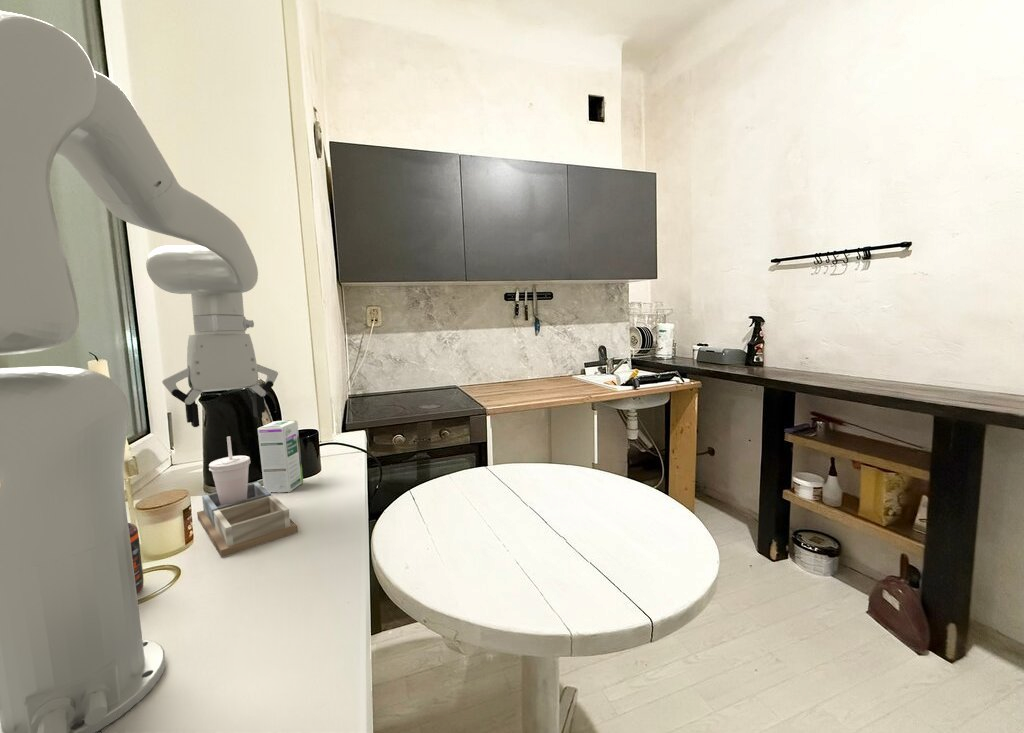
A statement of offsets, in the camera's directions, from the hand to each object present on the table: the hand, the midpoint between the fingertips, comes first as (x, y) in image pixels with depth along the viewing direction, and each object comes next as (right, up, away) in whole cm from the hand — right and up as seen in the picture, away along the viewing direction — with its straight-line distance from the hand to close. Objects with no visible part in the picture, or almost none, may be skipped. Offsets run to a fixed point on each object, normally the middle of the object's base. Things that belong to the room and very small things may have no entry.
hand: (228, 421), depth 77 cm
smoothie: (0, -17, +2) cm, 17 cm away
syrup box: (+2, -17, +16) cm, 23 cm away
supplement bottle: (-1, -21, -21) cm, 30 cm away
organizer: (+4, -18, -1) cm, 19 cm away
